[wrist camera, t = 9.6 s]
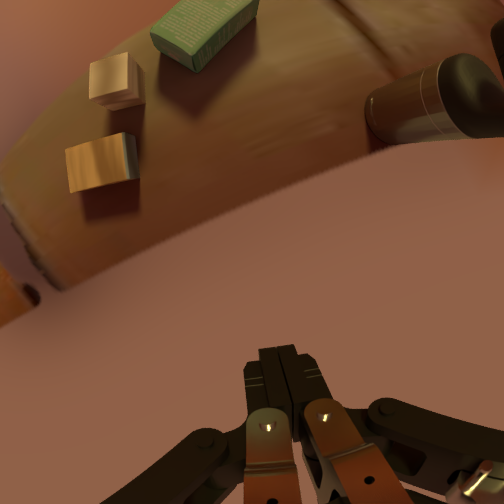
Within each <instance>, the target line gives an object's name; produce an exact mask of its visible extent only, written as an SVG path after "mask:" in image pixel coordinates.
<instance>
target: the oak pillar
mask: <svg viewBox="0 0 504 504" xmlns="http://www.w3.org/2000/svg"><path fill="white" fill-rule="evenodd" d="M65 151H66V162H67V171H68V179H69V187H70V193H74V192H80V191H86V190H90V189H94V188H98V187H102V186H106V185H110V184H115V183H119V182H124V181H128V180H133V179H138V178H140V174H139V166H138V158H137V149H136V139H135V136H134V135H131V134H129V133H126V132H122V133H118V134H115V135H111V136H107V137H104V138H100V139H97V140H93V141H90V142H87V143H84V144H80V145H77V146H74V147H71V148H68V149H65Z"/></svg>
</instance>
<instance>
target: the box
mask: <svg viewBox="0 0 504 504" xmlns="http://www.w3.org/2000/svg"><path fill="white" fill-rule="evenodd" d="M258 4H259V0H181V1H180V2H179V3H178V4H176V5H175V6H174V7H173V8H172V9H171V10H170V11H169V12H167V13H166V14H165V15H164V16H163V17H162V18H161V19H160V20H159V21H158V22H157V23H156V24H155V25H154V26H153V27H152V28H151V30H150V36H151V38H152V41H153V44H154V46H155V47H156V48H157V49H158V50H159V51H160V52H162V53H163V54H165V55H167V56H169V57H170V58H172V59H174V60H176V61H177V62H179V63H181V64H182V65H184V66H185V67H187V68H189V69H190V70H192V71H193V72H195V73H199V72H200V71H201V70H202V69H203V68H204V67H205V66H206V64H207V63H208V62H209V61H210V60H211V59H212V58H213V57H214V56H215V55H216V54H217V53H218V52H219V51H220V50H221V49H222V48H223V47H224V46H225V45H226V44H227V43H228V42H229V41H230V40H231V39H232V38H233V37H234V36H235V35H236V34H237V33H238V32H239V31H240V30H241V29H242V28H243V27H245V26H246V25H247V24H248V23H249V22H250V21H251V20H252V19H253V18H254V17H255V16H256V15H257V10H258Z"/></svg>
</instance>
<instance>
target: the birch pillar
mask: <svg viewBox="0 0 504 504" xmlns="http://www.w3.org/2000/svg"><path fill="white" fill-rule="evenodd" d="M89 99H90V100H92V101H94V102H96V103H98V104H100V105H102V106H104V107H106V108H108V109H110V110H112V111H115V110H119V109H123V108H128V107H132V106H137V105H141V104H146V100H145V72H144V71H143V70H142V68H141V67H140V66H139V65H138V64H137V62H136V61H135V60H134V59H133V58H132V57H131V55H130V54H129V53H128V52H126V53H122V54H119V55H115V56H112V57H108V58H105V59H102V60H99V61H95V62H92V63H90V78H89Z"/></svg>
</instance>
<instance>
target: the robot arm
mask: <svg viewBox="0 0 504 504" xmlns="http://www.w3.org/2000/svg"><path fill="white" fill-rule="evenodd" d="M491 40H492V44H493V47H494V50H495V53H496V56H497V59H498V62H499V66H500V69H501V72H502V75H503V79H504V18H503V19H501V20H499V21H498V22H497V23H496V24H495V25H494V26H493V27H492V29H491ZM365 116H366V120H367V123H368V125H369V127H370V129H371V130H372V132H373V133H374V134H375V135H376V136H377V137H378V138H379V139H380V140H382V141H383V142H385V143H388V144H392V145H398V144H408V143H419V142H430V141H443V140H458V139H479V138H495V137H504V89H503V87H502V86H501V84H500V82H499V81H498V79H497V78H496V76H495V75H494V73H493V72H492V71H491V69H490V68H489V67H488V66H487V65H486V64H485V63H484V62H483V61H481V60H480V59H479V58H477V57H475V56H473V55H471V54H464V53H461V54H457V55H454V56H451V57H449V58H446V59H444V60H441V61H439V62H436V63H434V64H432V65H430V66H427V67H425V68H422V69H420V70H418V71H415V72H413V73H411V74H409V75H406V76H404V77H402V78H400V79H398V80H395V81H393V82H391V83H389V84H387V85H385V86H383V87H380V88H378V89H376V90H375V91H373V92H372V93H371V94H370V95H369V96H368V98H367V100H366V104H365ZM258 351H259V361H251V362H247V364H246V366H245V368H244V370H243V371H244V381H245V390H246V399H247V409H248V416H247V419H246V421H245V422H244V423H243V424H242V425H241V426H240V427H238V428H236V429H234V430H232V431H229V432H226V433H222V432H221V431H219V430H216V429H212V428H201V429H198V430H196V431H193V432H192V433H190V434H189V435H188V436H187V437H186V438H185V439H183V440H182V441H181V442H180V443H178V444H177V445H176V446H175V447H174V448H173V449H171V450H170V451H169V452H168V453H167V454H165V455H164V456H163V457H162V458H160V459H159V460H158V461H157V462H155V463H154V464H153V465H152V466H150V467H149V468H148V469H147V470H145V471H144V472H143V473H141V474H140V475H139V476H137V477H136V478H135V479H134V480H132V481H131V482H129V483H128V484H127V485H125V486H124V487H123V488H121V489H120V490H119V491H117V492H116V493H114V494H113V495H111V496H110V497H109V498H107V499H106V500H104V501H103V502H101V503H100V504H220V503H221V502H222V501H223V500H224V499H225V498H226V497H227V496H228V495H229V494H230V493H231V492H232V491H233V490H234V489H235V487H236V486H237V484H239V483H242V482H244V504H302V500H301V493H300V486H299V479H298V472H297V467H296V464H295V462H294V456H293V449H292V438H293V442H299V441H300V442H301V445H302V457H303V460H304V463H305V466H306V468H307V471H308V473H309V476H310V479H311V481H312V484H313V486H314V489H315V491H316V495H317V501H318V504H504V431H501V430H497V429H492V428H488V427H484V426H481V425H477V424H473V423H469V422H466V421H462V420H459V419H455V418H452V417H448V416H445V415H441V414H438V413H435V412H432V411H429V410H426V409H423V408H420V407H417V406H414V405H411V404H408V403H405V402H402V401H399V400H397V399H393V398H380V399H378V400H376V401H374V402H372V403H371V405H370V406H369V408H368V409H349V408H345V407H343V406H342V405H341V404H340V403H339V402H338V401H336V400H334V399H333V397H332V395H331V393H330V391H329V389H328V387H327V384H326V382H325V380H324V378H323V376H322V373H321V371H320V369H319V367H318V365H317V363H316V361H315V359H314V358H312V357H311V356H310V355H308V354H301V355H298V354H297V351H296V349H295V346H294V345H293V344H291V345H284V346H277V347H271V348H263V349H259V350H258ZM399 480H400V481H403V482H406V483H408V484H411V485H413V486H416V487H419V488H422V489H425V490H428V491H431V492H434V493H437V494H440V495H444V496H445V497H446V501H447V503H445V502H442V501H439V500H437V499H434V498H431V497H428V496H426V495H423V494H420V493H418V492H415V491H412V490H408V489H404V487H403V486H402V484H401V483H400V481H399Z"/></svg>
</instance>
